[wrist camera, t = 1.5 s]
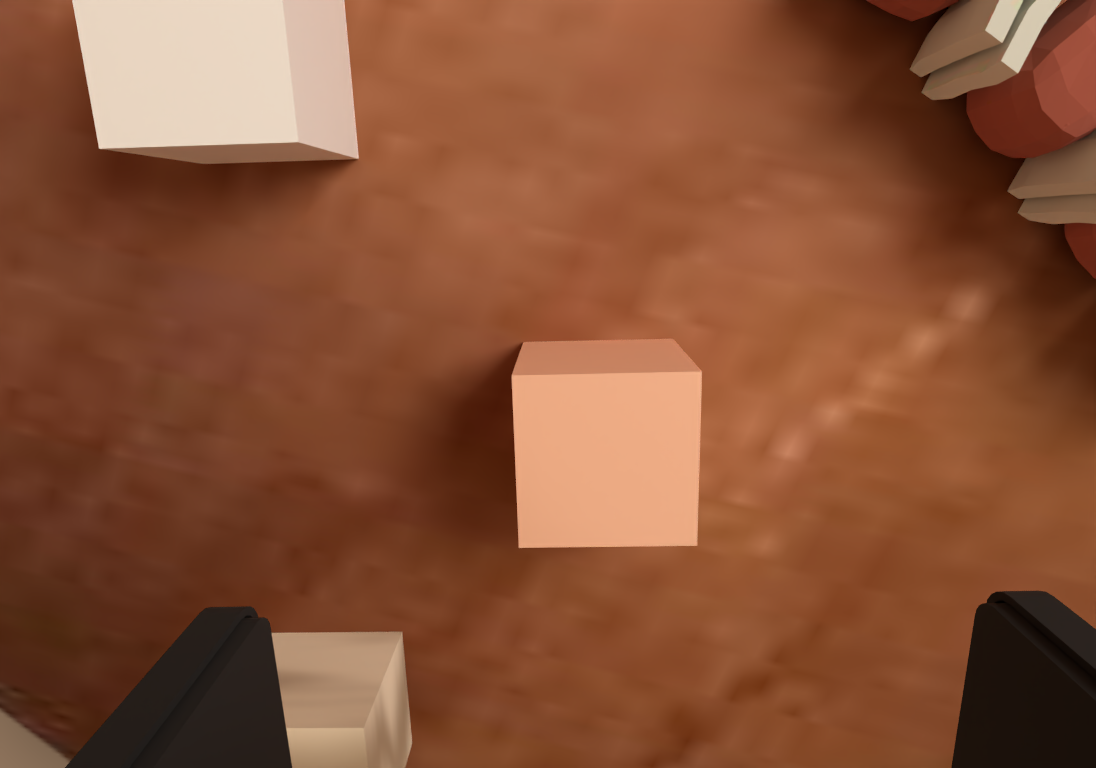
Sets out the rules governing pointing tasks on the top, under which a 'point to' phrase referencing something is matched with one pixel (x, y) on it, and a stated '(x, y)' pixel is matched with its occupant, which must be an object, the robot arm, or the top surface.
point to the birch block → (344, 698)
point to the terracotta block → (606, 443)
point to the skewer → (1023, 96)
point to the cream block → (220, 79)
